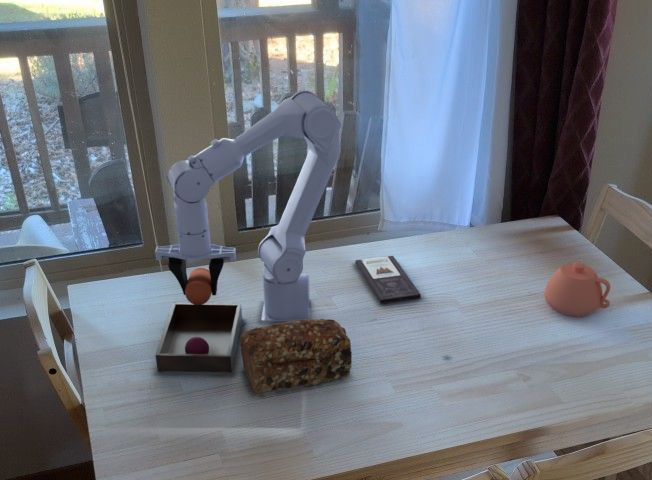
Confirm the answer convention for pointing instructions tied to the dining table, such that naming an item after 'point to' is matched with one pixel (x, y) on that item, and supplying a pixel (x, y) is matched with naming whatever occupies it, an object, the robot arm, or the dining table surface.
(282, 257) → the robot arm
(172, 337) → the dark wooden tray
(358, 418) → the dining table surface
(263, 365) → the bread
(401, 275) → the chocolate bar
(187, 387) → the dining table surface
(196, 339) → the onion
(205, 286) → the sweet potato
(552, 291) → the sugar bowl
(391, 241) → the dining table surface
